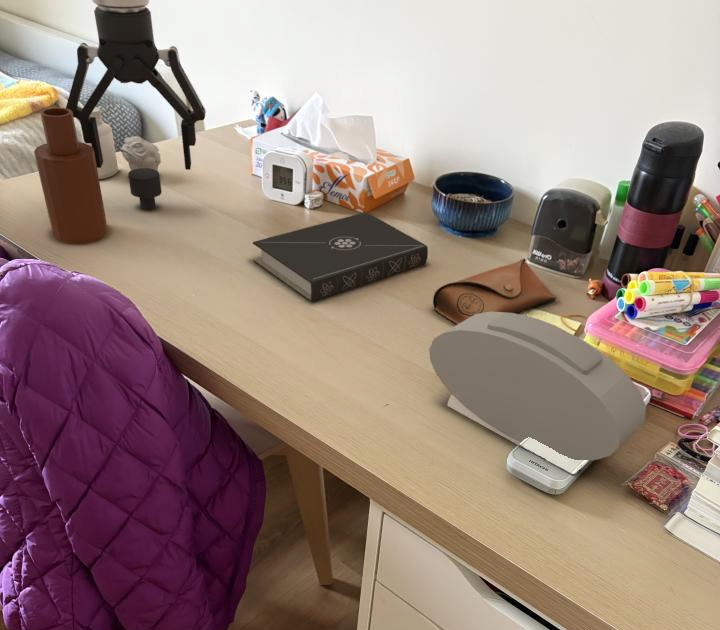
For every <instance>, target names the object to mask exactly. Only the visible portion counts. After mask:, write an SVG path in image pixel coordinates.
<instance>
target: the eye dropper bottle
mask: <svg viewBox="0 0 720 630" xmlns="http://www.w3.org/2000/svg"><path fill="white" fill-rule="evenodd" d="M90 117H96V123H97V129H98V134H99V140H100V145H101V151H102V157H103V164H102V166H101V168H97V171H98V177H99V180H104V179H108V178H111V177H113V176H115V175H116V174H117V173H118V172H119V165H118V159H117V152H116V145H115V139H114V134H113V129H112V126H111V125H110V124H108V123H105V122H103V116H102V110H101V108H100V107H97V106H96V107H95V108H94V110H93V111H92V113H91V114H90ZM80 134H81V135H80V136H81V143H85V141H84V139H83V134H82V131H80ZM85 144H87V145H90V146H91V147H92V145H91V143H85Z"/></svg>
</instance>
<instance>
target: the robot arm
mask: <svg viewBox="0 0 720 630" xmlns="http://www.w3.org/2000/svg"><path fill="white" fill-rule="evenodd" d="M91 2H93V4H95V5H96V7H95V9H94V10H93V12H94V20H95V25H96V31H97V37H98V47H97V46H91V45H89V44H87V43H86V42H81V43H80V44H79V45H78V47H77V49H76V57H77V67H76V70H75V73H74V77H73V80H72V84H71V88H70V92H69V95H68V99H67V102H66V105H65V108H66V109H70V110H71V111H72V112H73V117H74V119H76V120H78V122H79V124H80V127H81V132H82V134H83V139H84V141H85V143H91V145H92V148H93V149H94V154H95V159H96V165H97V168H101V166H102V164H103V157H102V151H101V145H100V140H99V134H98V129H97V123H96V117H90V114H91V113H92V111H93V110H94V108H95V107H97V105H98V103H99V102H100V100H101V99H102V97H103V96H104V94H105V93H106V92H107V90H108V88H109V87H110V86H111V84H112V83H113V82H114V81H113V80H114V79H115V80H116V81H118V82H119V83H120V84H128V83H134V84H137V85H138V84H139V85H143V83H146V82H148V83H149V84H150V85H151V86H152V87H153V88H154V89H155V90H156V91H157V92H158V93H159V94H160V95H161V96H162V98H164V100H165V101H166V102H167V103H168V104H169V105H170V106H171V108H172V109H173V110H174V111H175V112H176V113H177V115H178V116H179V117H180V118H181V122H180V129H181V130H180V131H181V132H180V133H181V141H182V149H183V151H182V152H183V158H184V159H183V160H184V169H185V171H186V170H191V167H192V156H191V147H195V146H196V141H197V133H196V123H197V122H199V121H203V120H205V118H206V112H207V111H206V108H205V107H204V104H203V103H202V101H201V99H200V97H199V96H198V93H197V91H196V90H195V88H194V86H193V84H192V83H191V81H190V79H189V77H188V74H187V73H186V71H185V70H184V68H183V66H182V64H181V60H180V55H179V51H178V48H177V47H176V46H173V45H171V46H170V47H169V48H164V49H158V47H157V45H156V43H155V38H154V29H153V20H152V12H151V10H150V8H148V7H147V6H148V5H149V4H150V0H91ZM96 58H98V59H99V61H100V62H101V63H102V64H103V66H104V67H105V68H106V71H105V73H104V74H103V76H102V77H101V79H100V80H99V82H98V83H97V85H96V86H95V88H94V90H93V91H92V93H91V95H90V96H89V98H87V100H86V102H85V104H84V105H83V106H82V107H80V106H78V105H79V103H80V102H79V101H80V98H81V94H82V91H83V87H84V85H85V80H86V77H87V74H88V71H89V67H90V65H92V64H93V63H94V61H95V59H96ZM159 60H161V61H162V62H163V63H164V65H165V66H166V67H168V68H170V70H171V72H172V75H173V77H174V78H175V81H176V82H177V84H178V85H179V87H180V89H181V91H182V93H183V95H184V96H185V98H186V100H187V102H188V104H189V105H190V107H191V109H192V110H191V109H190V107H189V106H188V105H187V104H186V103H185V101H183V99H182V98H181V97H180V96H179V95H178V93H176V91H174V89H173V88H172V87H171V86H170V84H168V82H167V81H166V80H165V79H164V78H163V76H162V74H161V73H160V72H159V70H157V68H156V66H157V64H158V62H159Z"/></svg>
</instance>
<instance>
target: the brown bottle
mask: <svg viewBox="0 0 720 630" xmlns="http://www.w3.org/2000/svg"><path fill="white" fill-rule="evenodd" d="M39 114H40V118H41V122H42V127H43V132H44V136H45V141H46V143H43V144H41V145H39V146H36V148H35V149H34V151H33V152H34V153H33V154H34V158H35V162H36V166H37V171H38V175H39V179H40V180H39V181H40V184H41V189H42V193H43V198H44V203H45V207H46V210H47V211H46V212H47V215H48V220H49V223H50V227H51V231H52V234H53V237H54V238H55V239H56V240H57V241H59V242H61V243H66V244H71V245H84V244H91V243H95V242H98V241H100V240H102V239H103V238H105V237H106V236H107V235H108V222H107V217H106V212H105V205H104V200H103V195H102V189H101V183H100V179H99V177H98V171H97V165H96V159H95V154H94V149H93V148H92V147H91V146H90V145H87V144H85V143H82V141H81V142H80V141H79V140H78V139H79V138H78V134H77V128H76V124H75V117H73V112H72V111H71V110H70V109H66V107H48V108H45V109H42V110H41V111H40V113H39Z"/></svg>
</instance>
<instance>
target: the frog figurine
mask: <svg viewBox="0 0 720 630" xmlns="http://www.w3.org/2000/svg"><path fill="white" fill-rule="evenodd" d="M159 149H160V148H159V147H157V145H155V144H154V143H151V142H149V141H148V140H145V139H144V138H142V137H141V136H138V135H134V136H133V135H132V136H131V137H130V136H127V137H125V138H124V143H123V144H122V146H121V148H120V153H121V154H122V155H121V156H122V157H123V158H124V160H125V161H126V162H127V163H128V167H129V169H130V171H131V170H134V169H138V168H150V169H154V170H157V171H159V166H160V164H161V162H162V159H161V153H159V152H160V151H159Z"/></svg>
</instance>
